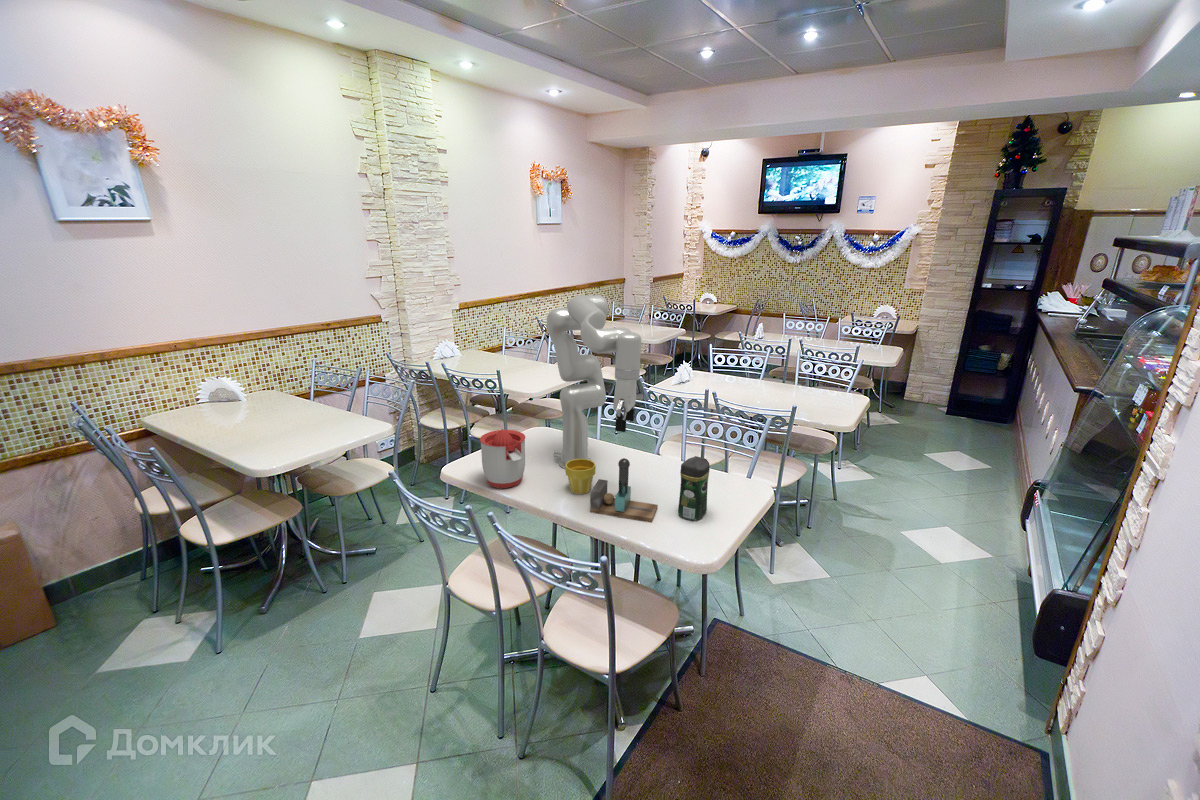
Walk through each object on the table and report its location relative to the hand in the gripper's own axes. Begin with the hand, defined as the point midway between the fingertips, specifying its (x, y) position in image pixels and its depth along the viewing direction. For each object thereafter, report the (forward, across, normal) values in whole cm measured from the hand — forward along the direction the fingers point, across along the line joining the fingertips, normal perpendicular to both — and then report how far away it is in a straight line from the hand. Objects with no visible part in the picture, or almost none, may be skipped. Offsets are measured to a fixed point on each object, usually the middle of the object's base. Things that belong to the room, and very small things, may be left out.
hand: (624, 425), depth 162 cm
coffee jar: (+27, 0, +23) cm, 36 cm away
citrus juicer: (+28, 0, -43) cm, 51 cm away
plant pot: (+28, -4, -16) cm, 32 cm away
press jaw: (+25, +5, +2) cm, 26 cm away
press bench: (+27, +5, +2) cm, 28 cm away
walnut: (+26, +5, -3) cm, 26 cm away
